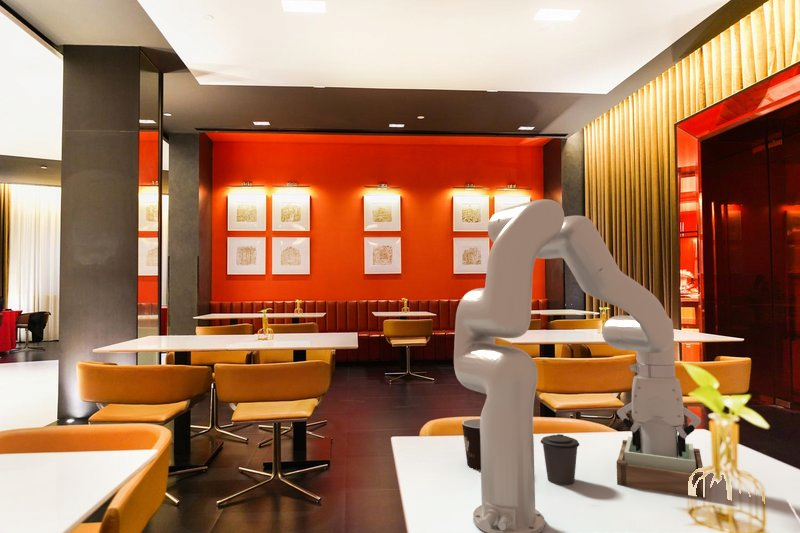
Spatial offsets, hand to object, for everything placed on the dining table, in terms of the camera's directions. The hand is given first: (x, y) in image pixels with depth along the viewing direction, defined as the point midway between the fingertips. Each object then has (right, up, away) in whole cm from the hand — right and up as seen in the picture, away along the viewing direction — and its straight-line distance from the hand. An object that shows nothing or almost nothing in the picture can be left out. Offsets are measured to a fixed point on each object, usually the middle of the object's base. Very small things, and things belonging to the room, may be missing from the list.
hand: (658, 451), depth 108 cm
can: (0, -4, 0) cm, 4 cm away
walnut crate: (0, -6, 0) cm, 6 cm away
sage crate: (0, -5, 0) cm, 5 cm away
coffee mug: (-38, -7, +9) cm, 40 cm away
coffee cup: (-22, -7, -2) cm, 23 cm away
